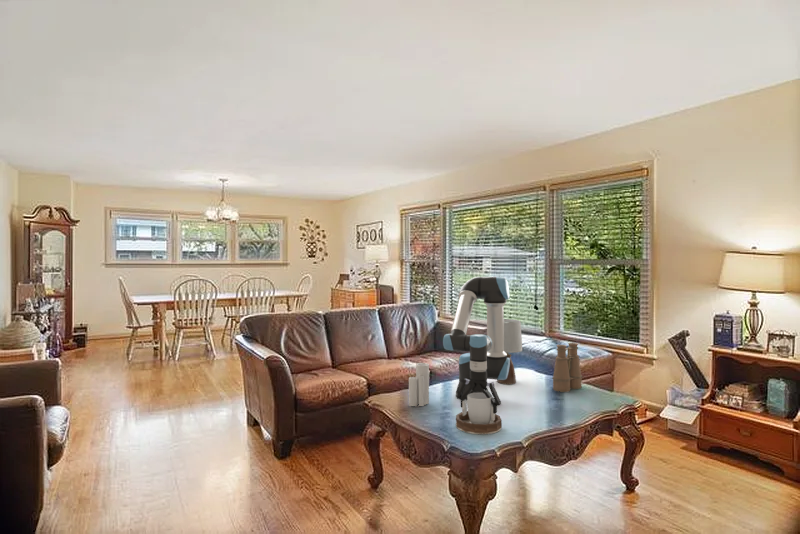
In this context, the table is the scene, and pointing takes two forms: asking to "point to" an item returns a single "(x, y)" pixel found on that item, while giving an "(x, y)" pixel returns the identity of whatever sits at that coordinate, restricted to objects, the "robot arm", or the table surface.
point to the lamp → (511, 346)
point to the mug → (479, 408)
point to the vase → (419, 386)
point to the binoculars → (567, 369)
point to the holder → (478, 425)
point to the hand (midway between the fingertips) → (478, 417)
